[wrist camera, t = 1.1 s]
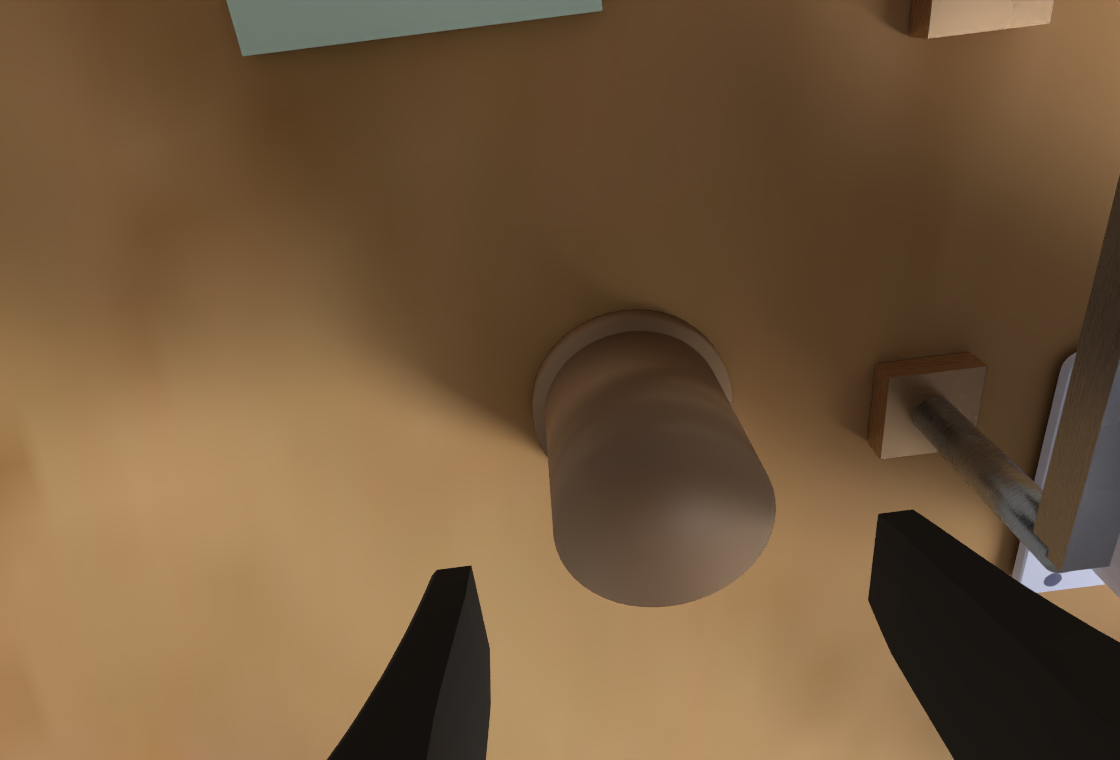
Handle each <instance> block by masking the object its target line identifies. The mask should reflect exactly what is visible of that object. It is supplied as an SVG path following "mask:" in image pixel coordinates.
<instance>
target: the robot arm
mask: <svg viewBox="0 0 1120 760" xmlns="http://www.w3.org/2000/svg"><path fill="white" fill-rule="evenodd" d="M1075 357H1076V353H1074V354H1072V355H1071V356H1069V357H1068V358H1067V359H1066V361H1065V362H1064V363H1063V365H1062V367H1061V369H1060V374H1059V378H1058V382H1057V386H1056V391H1055V395H1054V399H1053V403H1052V408H1051V412H1050V416H1049V420H1048V425H1047V429H1046V433H1045V437H1044V442H1043V446H1042V450H1041V455H1040V459H1039V463H1038V467H1037V472H1036V476H1035V480H1034V482H1035V483H1036V484H1037V485H1038V486H1039V487H1040V488H1041V489H1042V490H1043V488H1044V484H1045V480H1046V476H1047V472H1048V468H1049V463H1050V459H1051V455H1052V451H1053V447H1054V443H1055V439H1056V435H1057V431H1058V426H1059V422H1060V418H1061V414H1062V410H1063V406H1064V402H1065V398H1066V394H1067V389H1068V385H1069V381H1070V377H1071V373H1072V369H1073V365H1074V361H1075ZM1103 584H1106V585H1107V586H1108V587H1109V588H1110V589H1111V590H1112V591H1113V592H1114V593H1115V594H1116V595H1117V596H1118V597H1119V598H1120V534H1119V537H1118V541H1117V544H1116V547H1115V550H1114V553H1113V557H1112V560H1111V563H1110V566H1109V567H1101V568H1093V569H1085V570H1077V571H1070V572H1066V573H1053V572H1050V571H1048V570H1047V569H1046V568H1045V567H1044V566H1043V565H1042V564H1041V563H1040V562H1039V561H1038V560H1037V558H1036V557H1035V556H1034V555H1033V554H1032V553H1031V552H1030V551H1029V550H1028V549H1027V548H1026V547H1025V545H1024V544H1023V543H1022V542H1021V541H1020V544H1019V548H1018V553H1017V557H1016V561H1015V565H1014V570H1013V574H1012V577H1011V576H1009V575H1008V574H1006V573H1005V572H1003V571H1002V570H1000V569H999V568H997V567H996V566H994V565H993V564H992V563H990V562H989V561H987V560H986V559H984V558H983V557H981V556H980V555H978V554H977V553H975V552H974V551H973V550H971V549H970V548H968V547H967V546H965V545H964V544H962V543H961V542H960V541H958V540H957V539H955V538H954V537H952V536H951V535H950V534H948V533H947V532H945V531H944V530H942V529H941V528H939V527H938V526H937V525H935V524H934V523H932V522H931V521H929V520H928V519H926V518H925V517H923V516H922V515H920V514H919V513H917V512H916V511H914V510H906V511H898V512H890V513H882V514H878V521H877V529H876V538H875V546H874V555H873V563H872V572H871V581H870V589H869V598H868V601H869V603H870V605H871V608H872V610H873V613H874V615H875V617H876V620H877V622H878V625H879V627H880V629H881V632H882V634H883V636H884V638H885V640H886V643H887V645H888V647H889V649H890V651H891V654H892V655H893V657H894V659H895V661H896V662H897V664H898V666H899V668H900V669H901V671H902V673H903V674H904V676H905V678H906V680H907V681H908V683H909V685H910V686H911V688H912V690H913V691H914V693H915V695H916V697H917V698H918V700H919V702H920V703H921V705H922V707H923V708H924V710H925V712H926V713H927V715H928V717H929V718H930V720H931V722H932V723H933V725H934V727H935V728H936V730H937V732H938V733H939V735H940V737H941V738H942V740H943V742H944V743H945V745H946V747H947V748H948V750H949V752H950V753H951V755H952V757H953V758H954V760H1120V642H1118V641H1116V640H1114V639H1113V638H1111V637H1109V636H1107V635H1105V634H1104V633H1102V632H1100V631H1098V630H1097V629H1095V628H1093V627H1091V626H1090V625H1088V624H1086V623H1085V622H1083V621H1081V620H1080V619H1078V618H1076V617H1075V616H1073V615H1071V614H1070V613H1068V612H1066V611H1065V610H1063V609H1061V608H1060V607H1058V606H1056V605H1055V604H1053V603H1051V602H1050V601H1048V600H1047V599H1045V598H1043V597H1042V596H1040V595H1039V594H1037V593H1038V592H1046V591H1055V590H1063V589H1071V588H1079V587H1087V586H1095V585H1103ZM490 706H491V698H490V648H489V643H488V639H487V634H486V630H485V625H484V621H483V616H482V612H481V607H480V603H479V598H478V594H477V589H476V585H475V580H474V576H473V571H472V567H471V566H464V567H456V568H448V569H441V570H437V571H436V572H435V573H434V574H433V575H432V577H431V579H430V581H429V584H428V586H427V589H426V591H425V593H424V595H423V598H422V600H421V602H420V604H419V606H418V608H417V610H416V613H415V615H414V617H413V619H412V621H411V623H410V625H409V627H408V629H407V631H406V633H405V635H404V636H403V638H402V640H401V642H400V644H399V646H398V648H397V649H396V651H395V653H394V655H393V657H392V659H391V660H390V662H389V664H388V666H387V668H386V670H385V671H384V673H383V675H382V676H381V678H380V680H379V681H378V683H377V685H376V686H375V688H374V690H373V691H372V693H371V694H370V696H369V698H368V699H367V701H366V703H365V704H364V706H363V707H362V709H361V711H360V712H359V714H358V715H357V717H356V719H355V720H354V722H353V723H352V725H351V726H350V728H349V729H348V731H347V732H346V734H345V735H344V736H343V738H342V739H341V741H340V742H339V744H338V745H337V746H336V748H335V749H334V751H333V752H332V753H331V755H330V756H329V757H328V759H327V760H486V752H487V740H488V729H489V718H490Z"/></svg>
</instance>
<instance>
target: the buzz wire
mask: <svg viewBox="0 0 1120 760" xmlns="http://www.w3.org/2000/svg"><path fill="white" fill-rule="evenodd" d="M1053 2H1054V0H912V9H911V19H910V29H909V37H917V38H926V39H930V38H938V37H946V36H954V35H962V34H969V33H977V32H985V31H993V30H1001V29H1009V28H1017V27H1025V26H1033V25H1041V24H1049V23H1050V19H1051V13H1052V8H1053ZM986 371H987V366H986V365H985V364H984V363H983V362H981V361H980V360H979V359H978V358H976V357H975V356H974V355H973V354H971V353H970V352H966V353H958V354H950V355H942V356H934V357H926V358H917V359H909V360H901V361H893V362H885V363H877V364H876V365H875V375H874V385H873V395H872V404H871V414H870V424H869V434H868V444H869V445H870V446H871V448H872V449H873V450H874V451H875V453H876V454H877V455H878V457H879V458H880V459H887V458H895V457H903V456H912V455H920V454H928V453H936V452H939V453H940V454H941V455H942V456H943V457H944V458H945V459H946V460H947V461H948V463H949V464H950V465H951V466H952V467H953V468H954V469H955V470H956V471H957V472H958V473H959V475H960V476H961V477H962V478H963V479H964V480H965V481H966V482H967V483H968V484H969V485H970V487H971V488H972V489H973V490H974V491H975V492H976V493H977V494H978V495H979V496H980V497H981V499H982V500H983V501H984V502H985V503H986V504H987V505H988V506H989V507H990V508H991V509H992V511H993V512H994V513H995V514H996V515H997V516H998V517H999V518H1000V519H1001V520H1002V521H1003V523H1004V524H1005V525H1006V526H1007V527H1008V528H1009V529H1010V530H1011V531H1012V532H1013V533H1014V535H1015V536H1016V537H1017V538H1018V539H1019V540H1020V541H1021V542H1022V543H1023V544H1024V545H1025V547H1026V548H1027V549H1028V550H1029V551H1030V552H1031V553H1032V554H1033V555H1034V556H1035V557H1036V558H1037V560H1038V561H1039V562H1040V563H1041V564H1042V565H1043V566H1044V567H1045V568H1046V569H1047V570H1048V571H1050V572H1053V573H1066V572H1070V571H1077V570H1085V569H1093V568H1101V567H1109V566H1110V563H1111V560H1112V557H1113V553H1114V550H1115V547H1116V544H1117V541H1118V537H1119V534H1120V176H1119V180H1118V184H1117V188H1116V192H1115V196H1114V200H1113V204H1112V209H1111V213H1110V217H1109V221H1108V225H1107V229H1106V233H1105V237H1104V241H1103V246H1102V250H1101V254H1100V258H1099V262H1098V266H1097V270H1096V274H1095V278H1094V283H1093V287H1092V291H1091V295H1090V299H1089V303H1088V307H1087V311H1086V315H1085V320H1084V324H1083V328H1082V332H1081V336H1080V340H1079V344H1078V348H1077V352H1076V357H1075V361H1074V365H1073V369H1072V373H1071V377H1070V381H1069V385H1068V389H1067V394H1066V398H1065V402H1064V406H1063V410H1062V414H1061V418H1060V422H1059V426H1058V431H1057V435H1056V439H1055V443H1054V447H1053V451H1052V455H1051V459H1050V463H1049V468H1048V472H1047V476H1046V480H1045V484H1044V488H1043V490H1042V489H1041V488H1040V487H1039V486H1038V485H1037V484H1036V483H1035V482H1034V481H1033V480H1032V479H1031V478H1030V477H1029V476H1027V475H1026V474H1025V473H1024V472H1023V471H1022V470H1021V469H1020V468H1019V467H1018V466H1017V465H1016V464H1015V463H1014V462H1013V461H1012V460H1011V459H1010V458H1008V457H1007V456H1006V455H1005V454H1004V453H1003V452H1002V451H1001V450H1000V449H999V448H998V447H997V446H996V445H995V444H994V443H993V442H992V441H991V440H990V439H988V438H987V437H986V436H985V435H984V434H983V433H982V432H981V431H980V430H979V429H978V428H977V427H976V426H977V421H978V415H979V409H980V404H981V398H982V393H983V387H984V382H985V376H986Z"/></svg>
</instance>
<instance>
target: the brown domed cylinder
mask: <svg viewBox="0 0 1120 760" xmlns="http://www.w3.org/2000/svg"><path fill="white" fill-rule="evenodd" d="M732 400H733V398H732V387H731V383H730V379H729V375H728V373H727V371H726V368H725V366H724V364H723V362H722V360H721V359H720V357H719V355H718V353H717V352H716V350H715V348H714V347H713V345H712V344H711V343H710V342H709V341H708V339H707V338H706V337H705V336H704V335H703V334H702V333H701V332H699V331H698V330H697V329H696V328H694V327H693V326H691V325H690V324H688V323H687V322H685V321H683V320H681V319H679V318H677V317H674V316H671V315H668V314H665V313H661V312H656V311H651V310H622V311H617V312H612V313H607V314H604V315H601V316H598V317H595V318H593V319H591V320H589V321H586V322H584V323H583V324H581V325H579V326H578V327H576V328H574V329H573V330H571V331H570V332H569V333H568V334H566V335H565V336H564V337H563V338H562V339H561V340H560V341H559V342H558V343H557V344H556V345H555V346H554V347H553V348H552V349H551V351H550V352H549V353H548V355H547V356H546V357H545V359H544V361H543V363H542V365H541V366H540V369H539V371H538V374H537V376H536V379H535V384H534V388H533V397H532V408H533V423H534V428H535V433H536V436H537V439H538V441H539V444H540V446H541V448H542V449H543V451H544V453H545V454H546V456H547V457H548V465H549V478H550V492H551V506H552V520H553V534H554V541H555V545H556V549H557V552H558V554H559V557H560V559H561V561H562V562H563V564H564V566H565V567H566V569H567V570H568V571H569V572H570V574H571V575H572V576H573V577H574V578H575V579H576V580H577V581H578V582H579V583H581V584H582V585H583V586H584V587H586V588H587V589H589V590H590V591H592V592H593V593H595V594H597V595H599V596H601V597H603V598H606V599H609V600H611V601H614V602H617V603H622V604H626V605H631V606H639V607H665V606H673V605H679V604H684V603H688V602H692V601H695V600H698V599H701V598H703V597H706V596H709V595H711V594H713V593H715V592H717V591H719V590H721V589H722V588H724V587H726V586H727V585H729V584H730V583H732V582H733V581H735V580H736V579H737V578H739V577H740V576H741V575H742V574H743V573H744V572H745V571H747V570H748V569H749V568H750V567H751V566H752V565H753V563H754V562H755V561H756V560H757V558H758V557H759V556H760V554H761V553H762V551H763V549H764V548H765V546H766V545H767V542H768V540H769V538H770V535H771V533H772V529H773V526H774V522H775V513H776V505H775V496H774V491H773V487H772V485H771V482H770V480H769V477H768V475H767V473H766V471H765V470H764V468H763V466H762V464H761V462H760V460H759V458H758V456H757V454H756V452H755V450H754V448H753V447H752V445H751V443H750V441H749V439H748V437H747V435H746V433H745V431H744V429H743V427H742V425H741V424H740V422H739V420H738V418H737V416H736V414H735V412H734V410H733V408H732Z"/></svg>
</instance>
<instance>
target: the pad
mask: <svg viewBox="0 0 1120 760" xmlns="http://www.w3.org/2000/svg"><path fill="white" fill-rule="evenodd" d="M226 1H227V5H228V8H229V11H230V15H231V18H232V22H233V25H234V29H235V32H236V36H237V39H238V43H239V46H240V49H241V53H242V56H250V55H258V54H265V53H273V52H281V51H289V50H297V49H305V48H313V47H321V46H329V45H337V44H344V43H352V42H360V41H368V40H376V39H384V38H392V37H400V36H408V35H415V34H423V33H431V32H439V31H447V30H455V29H463V28H471V27H479V26H487V25H494V24H502V23H510V22H518V21H526V20H534V19H542V18H550V17H558V16H565V15H573V14H581V13H589V12H597V11H602V0H226Z"/></svg>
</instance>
